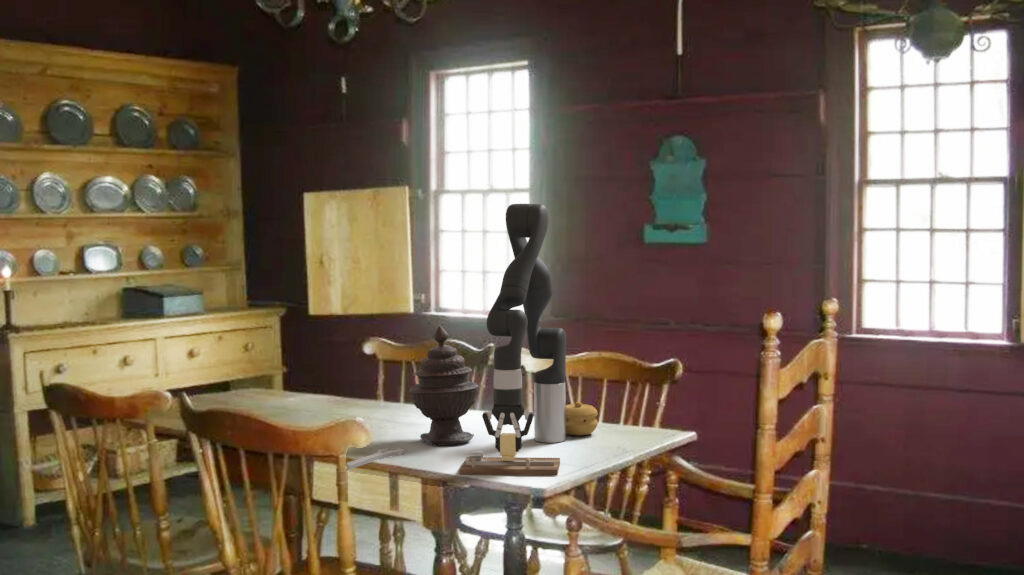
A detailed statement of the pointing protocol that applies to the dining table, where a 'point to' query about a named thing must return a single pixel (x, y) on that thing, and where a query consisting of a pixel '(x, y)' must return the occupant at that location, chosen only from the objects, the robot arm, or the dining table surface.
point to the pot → (580, 419)
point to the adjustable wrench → (374, 457)
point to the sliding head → (508, 446)
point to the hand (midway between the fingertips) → (508, 450)
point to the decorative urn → (444, 393)
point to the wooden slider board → (508, 465)
